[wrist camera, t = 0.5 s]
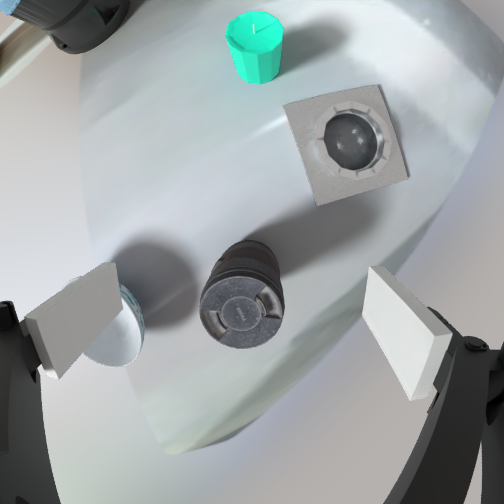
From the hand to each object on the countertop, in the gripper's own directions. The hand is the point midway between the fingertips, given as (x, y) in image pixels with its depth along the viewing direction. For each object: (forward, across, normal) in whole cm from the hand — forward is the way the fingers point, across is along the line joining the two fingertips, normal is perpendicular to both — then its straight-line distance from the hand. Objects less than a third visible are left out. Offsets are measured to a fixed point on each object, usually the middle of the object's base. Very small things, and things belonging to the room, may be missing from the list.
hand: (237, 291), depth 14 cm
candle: (+25, 0, +21) cm, 33 cm away
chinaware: (+25, -23, -14) cm, 37 cm away
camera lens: (+25, -1, -7) cm, 26 cm away
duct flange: (+25, +12, +10) cm, 30 cm away
